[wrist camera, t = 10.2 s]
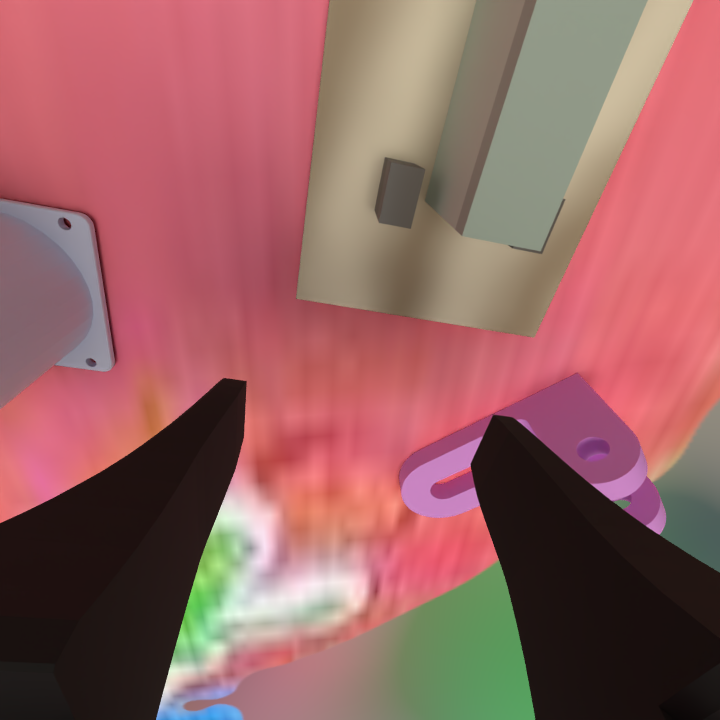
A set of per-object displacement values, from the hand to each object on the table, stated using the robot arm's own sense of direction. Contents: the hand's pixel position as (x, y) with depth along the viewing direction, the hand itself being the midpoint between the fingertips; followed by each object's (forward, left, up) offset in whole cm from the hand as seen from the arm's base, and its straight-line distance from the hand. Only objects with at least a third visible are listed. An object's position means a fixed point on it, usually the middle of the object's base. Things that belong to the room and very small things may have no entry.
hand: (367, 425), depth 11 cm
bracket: (+10, -9, -10) cm, 17 cm away
